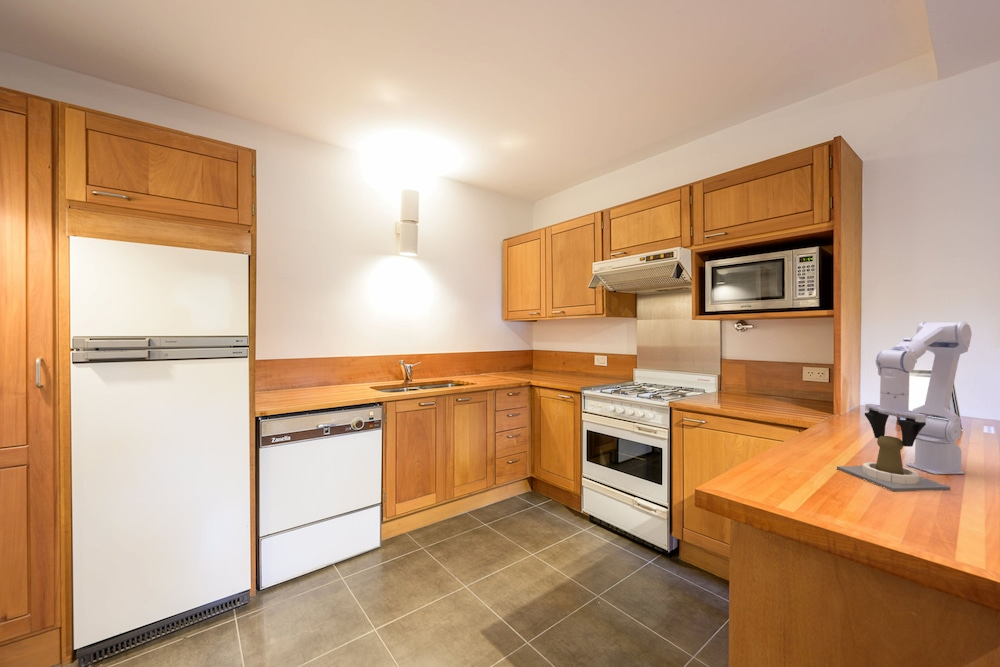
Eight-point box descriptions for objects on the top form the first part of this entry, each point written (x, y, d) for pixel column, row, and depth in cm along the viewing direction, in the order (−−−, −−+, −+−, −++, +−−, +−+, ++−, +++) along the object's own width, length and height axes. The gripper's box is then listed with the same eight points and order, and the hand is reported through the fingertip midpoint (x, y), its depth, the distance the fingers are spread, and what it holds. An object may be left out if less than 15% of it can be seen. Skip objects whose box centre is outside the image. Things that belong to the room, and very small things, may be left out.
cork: (891, 472, 115) (892, 434, 114) (911, 480, 109) (912, 440, 108) (868, 471, 115) (869, 433, 115) (886, 479, 109) (887, 439, 109)
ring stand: (887, 468, 121) (887, 458, 120) (950, 490, 105) (950, 479, 105) (836, 469, 120) (837, 459, 119) (892, 491, 104) (893, 480, 103)
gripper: (855, 389, 119) (854, 434, 119) (908, 398, 104) (907, 450, 104) (878, 388, 119) (877, 434, 119) (934, 398, 104) (932, 449, 105)
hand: (893, 441), depth 112 cm, fingers open, 7 cm apart
